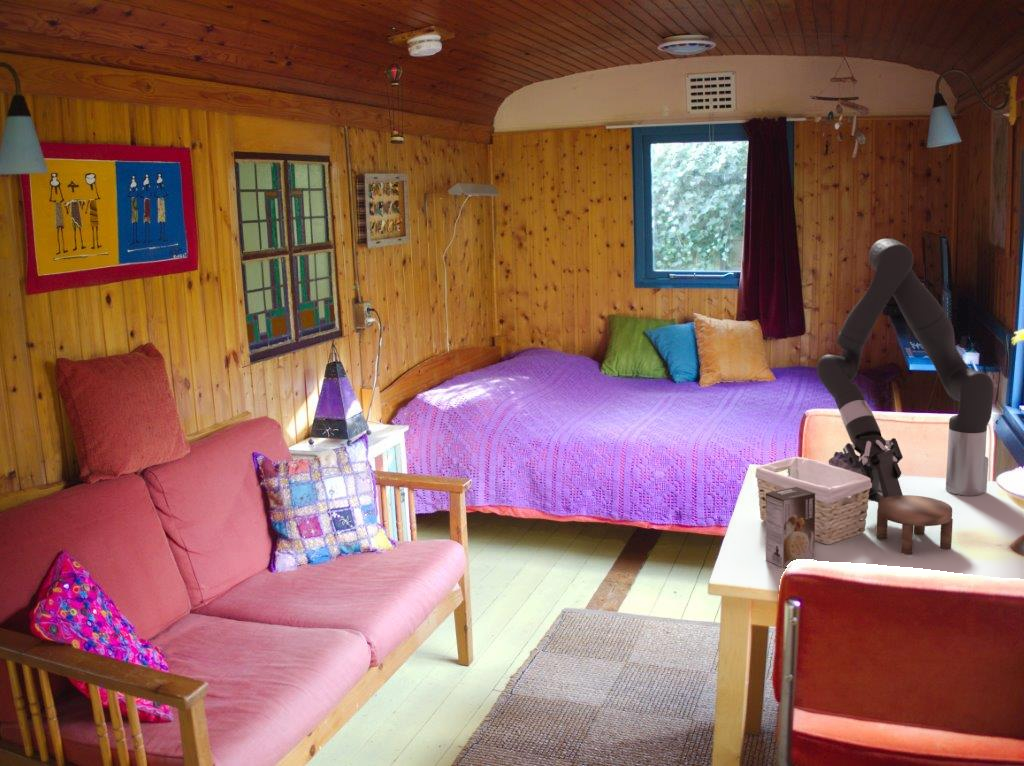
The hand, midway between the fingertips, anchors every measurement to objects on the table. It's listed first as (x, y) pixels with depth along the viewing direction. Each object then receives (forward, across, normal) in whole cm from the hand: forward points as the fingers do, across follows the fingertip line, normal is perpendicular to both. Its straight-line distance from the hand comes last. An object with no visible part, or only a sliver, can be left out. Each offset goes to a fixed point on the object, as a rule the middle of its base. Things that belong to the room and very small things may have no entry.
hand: (884, 479), depth 241 cm
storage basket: (+7, -18, +10) cm, 22 cm away
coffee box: (+19, -33, -3) cm, 38 cm away
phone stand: (+3, 0, +5) cm, 6 cm away
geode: (-12, +11, +28) cm, 33 cm away
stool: (+18, -1, -2) cm, 18 cm away
